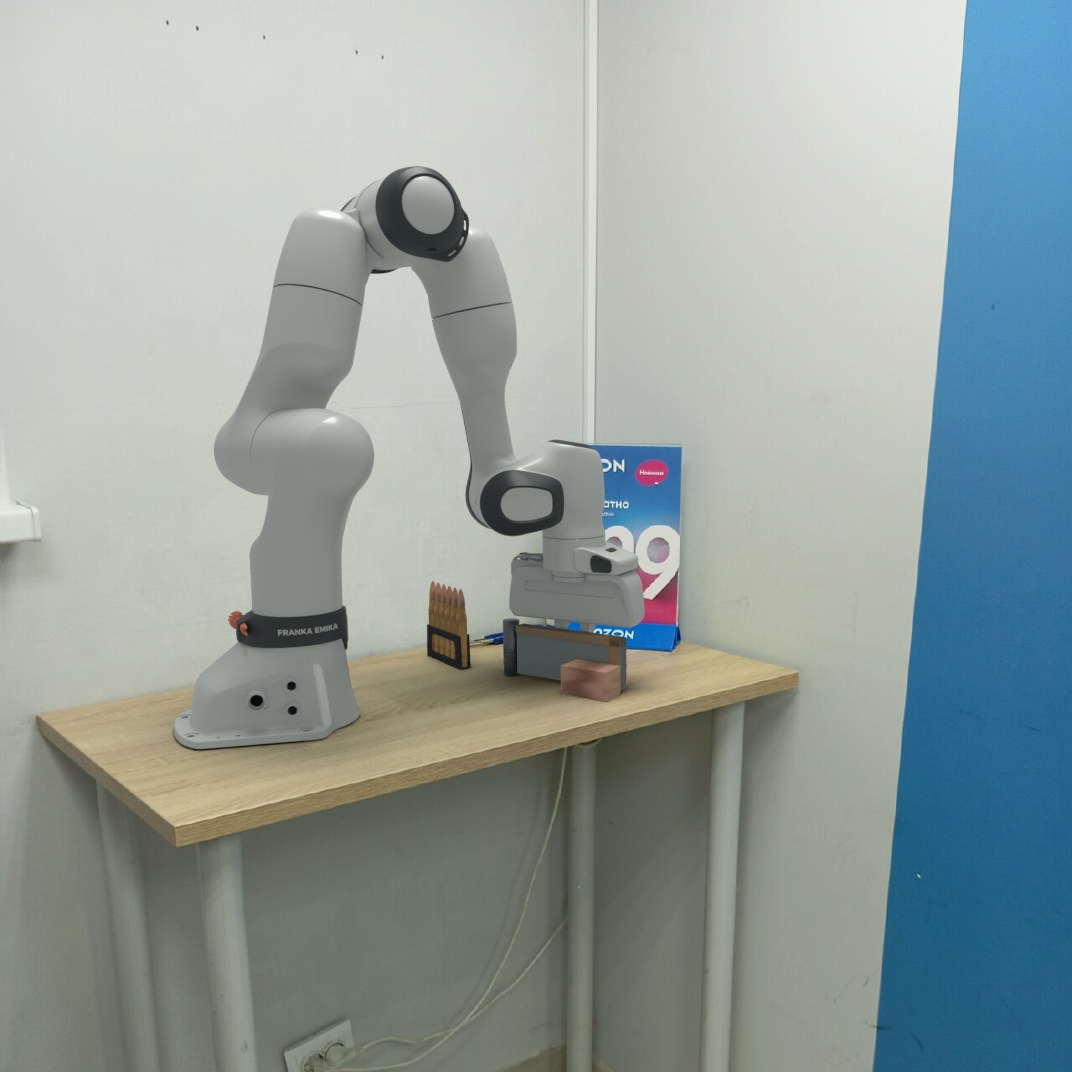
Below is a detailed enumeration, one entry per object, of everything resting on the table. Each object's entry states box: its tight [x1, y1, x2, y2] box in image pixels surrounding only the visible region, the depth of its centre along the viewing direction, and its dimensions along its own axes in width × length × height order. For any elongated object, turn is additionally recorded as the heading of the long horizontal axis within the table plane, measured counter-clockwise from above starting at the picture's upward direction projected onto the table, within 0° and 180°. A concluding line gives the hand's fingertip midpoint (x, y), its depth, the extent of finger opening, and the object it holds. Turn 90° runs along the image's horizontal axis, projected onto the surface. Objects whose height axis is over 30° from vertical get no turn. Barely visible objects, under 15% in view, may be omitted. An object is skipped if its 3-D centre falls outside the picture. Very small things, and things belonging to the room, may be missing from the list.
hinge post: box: [502, 617, 520, 677], centre depth 149 cm, size 2×2×8 cm
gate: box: [516, 623, 627, 690], centre depth 143 cm, size 17×2×7 cm, turn 56°
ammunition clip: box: [426, 580, 472, 671], centre depth 156 cm, size 11×2×12 cm, turn 34°
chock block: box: [560, 659, 622, 703], centre depth 138 cm, size 7×4×4 cm, turn 56°
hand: (575, 651), depth 145 cm, fingers closed
